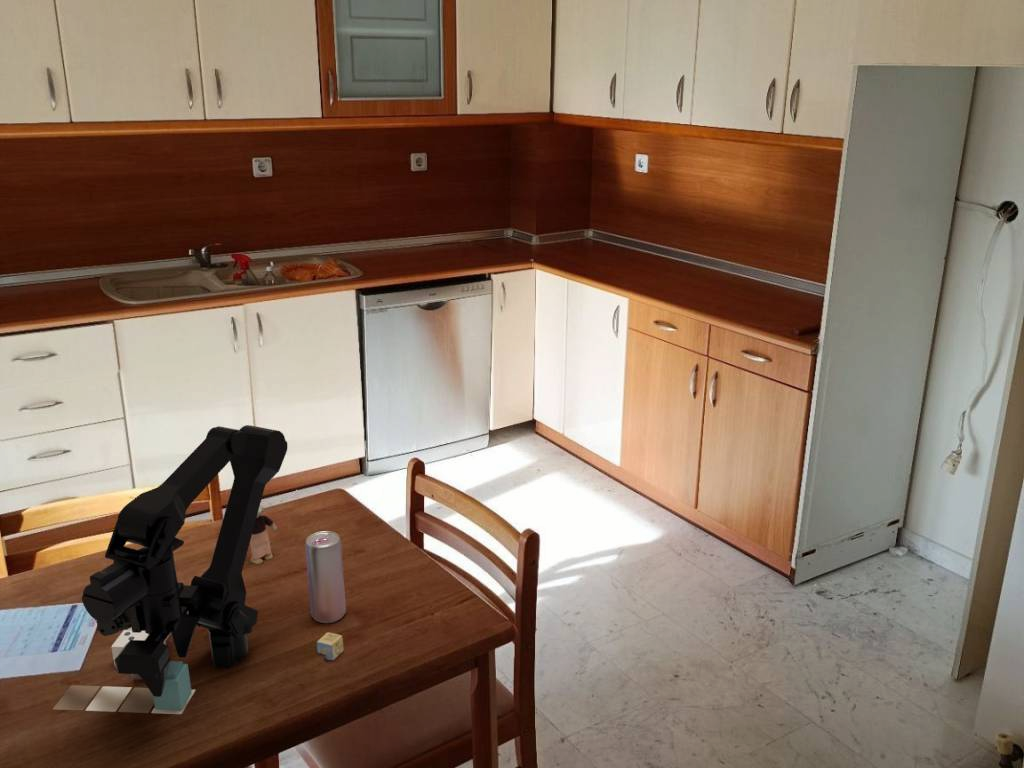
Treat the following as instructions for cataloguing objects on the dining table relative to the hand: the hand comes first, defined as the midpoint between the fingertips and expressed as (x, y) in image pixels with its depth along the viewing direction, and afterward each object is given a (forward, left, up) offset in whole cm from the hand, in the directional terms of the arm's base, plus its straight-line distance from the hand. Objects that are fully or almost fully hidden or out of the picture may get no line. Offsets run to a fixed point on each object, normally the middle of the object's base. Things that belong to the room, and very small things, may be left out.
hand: (170, 675), depth 140 cm
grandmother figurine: (-43, -1, -6) cm, 43 cm away
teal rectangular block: (0, 0, -5) cm, 5 cm away
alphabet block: (-14, +20, -6) cm, 25 cm away
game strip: (0, -8, -5) cm, 9 cm away
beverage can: (-25, +17, -6) cm, 31 cm away
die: (-10, -11, -5) cm, 15 cm away
